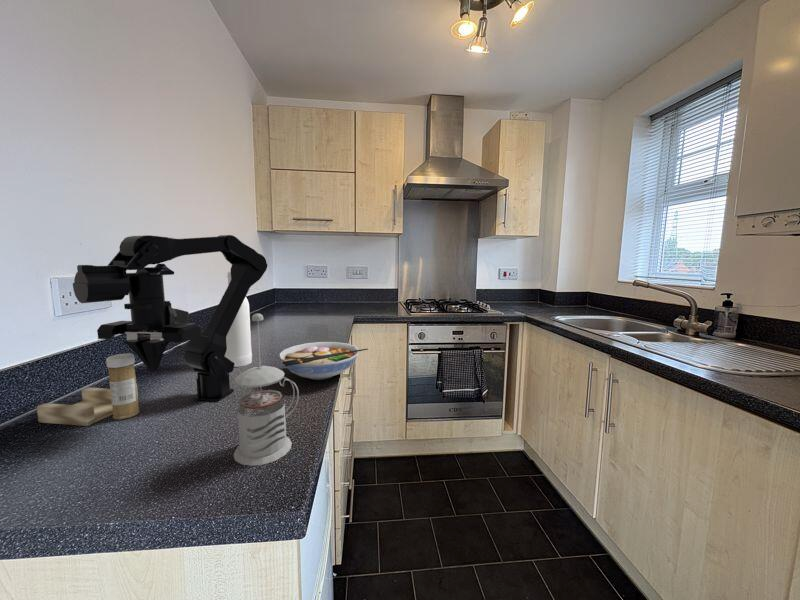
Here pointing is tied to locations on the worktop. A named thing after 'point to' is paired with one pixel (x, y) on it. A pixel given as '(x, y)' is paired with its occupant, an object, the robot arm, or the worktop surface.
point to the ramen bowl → (319, 359)
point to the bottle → (239, 336)
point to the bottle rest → (79, 409)
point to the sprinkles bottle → (123, 385)
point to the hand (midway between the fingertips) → (153, 370)
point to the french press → (262, 415)
